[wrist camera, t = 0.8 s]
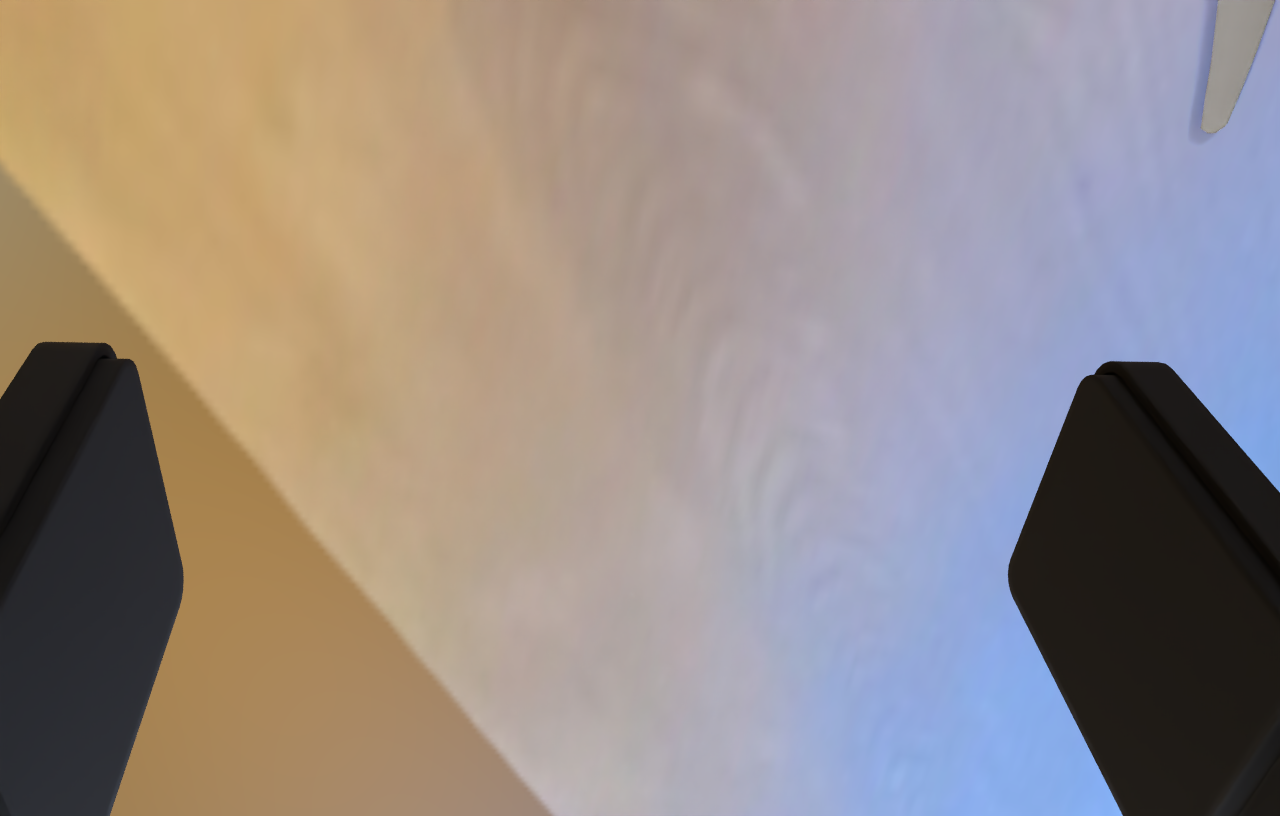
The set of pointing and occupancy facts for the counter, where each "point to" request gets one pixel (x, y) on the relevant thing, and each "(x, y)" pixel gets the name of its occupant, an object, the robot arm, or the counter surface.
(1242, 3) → the butter knife
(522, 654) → the counter surface
